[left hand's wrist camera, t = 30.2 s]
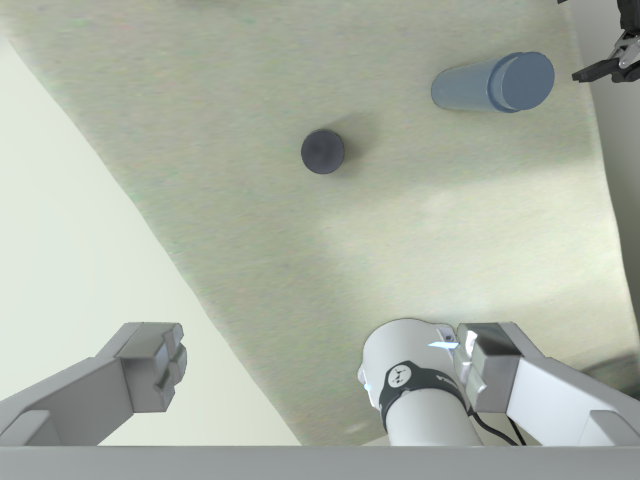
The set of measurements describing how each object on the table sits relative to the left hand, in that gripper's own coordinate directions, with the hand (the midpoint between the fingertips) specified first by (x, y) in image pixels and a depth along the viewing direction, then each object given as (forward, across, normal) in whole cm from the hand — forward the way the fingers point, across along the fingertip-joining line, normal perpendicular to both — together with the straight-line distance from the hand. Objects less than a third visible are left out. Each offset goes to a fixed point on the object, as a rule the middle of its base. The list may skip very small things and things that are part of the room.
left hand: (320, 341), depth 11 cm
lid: (+41, 0, 0) cm, 41 cm away
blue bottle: (+43, +17, +8) cm, 47 cm away
